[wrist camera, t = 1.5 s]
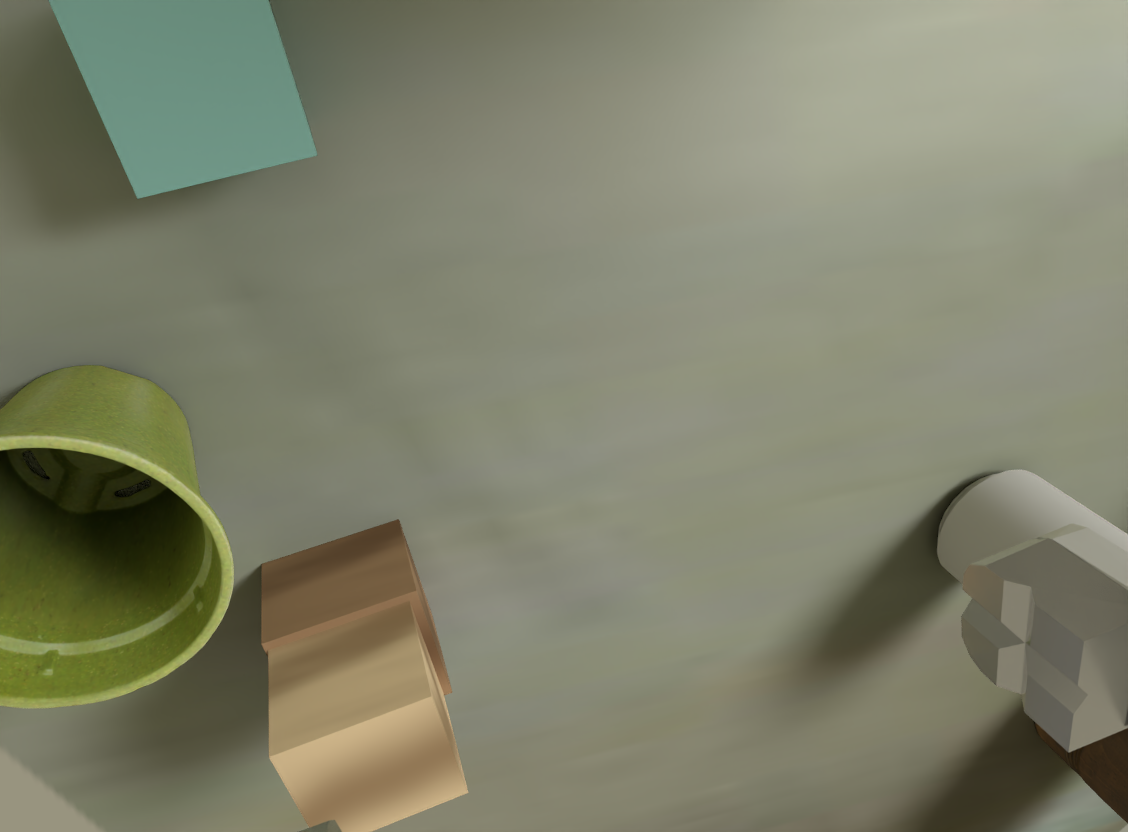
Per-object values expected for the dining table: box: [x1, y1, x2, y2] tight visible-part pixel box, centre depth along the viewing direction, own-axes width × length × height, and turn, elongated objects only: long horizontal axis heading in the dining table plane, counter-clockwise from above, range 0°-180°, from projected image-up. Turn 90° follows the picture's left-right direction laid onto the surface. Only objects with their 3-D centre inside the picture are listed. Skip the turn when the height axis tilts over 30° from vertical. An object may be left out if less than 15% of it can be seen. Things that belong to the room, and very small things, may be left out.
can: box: [937, 470, 1128, 584], centre depth 43 cm, size 8×8×12 cm
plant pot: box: [0, 365, 234, 709], centre depth 26 cm, size 9×9×9 cm
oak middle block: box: [268, 601, 468, 832], centre depth 31 cm, size 6×6×5 cm
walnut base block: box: [261, 519, 452, 695], centre depth 35 cm, size 6×6×5 cm
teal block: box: [48, 0, 317, 199], centre depth 24 cm, size 5×5×5 cm
